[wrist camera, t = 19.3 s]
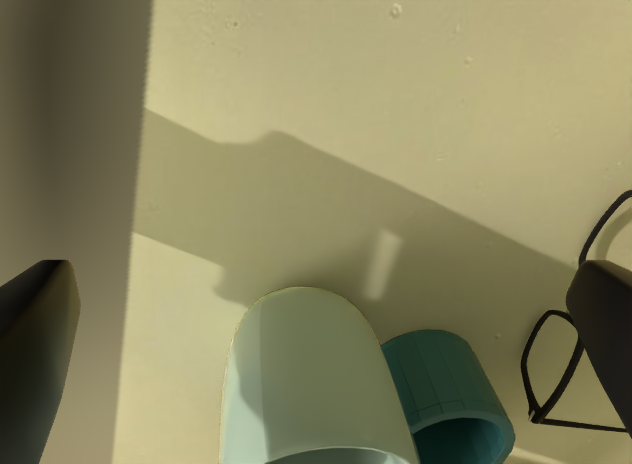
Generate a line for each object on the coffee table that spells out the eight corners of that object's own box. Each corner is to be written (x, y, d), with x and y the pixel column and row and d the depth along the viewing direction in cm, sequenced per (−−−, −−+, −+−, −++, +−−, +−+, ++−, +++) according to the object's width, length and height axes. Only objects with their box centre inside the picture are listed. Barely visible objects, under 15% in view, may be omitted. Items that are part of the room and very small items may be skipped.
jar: (335, 375, 30) (352, 461, 25) (435, 309, 28) (473, 389, 23) (400, 424, 33) (427, 507, 29) (493, 369, 31) (537, 448, 27)
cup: (238, 251, 24) (239, 437, 16) (387, 273, 26) (458, 448, 18) (212, 363, 28) (201, 559, 20) (343, 375, 30) (384, 557, 21)
